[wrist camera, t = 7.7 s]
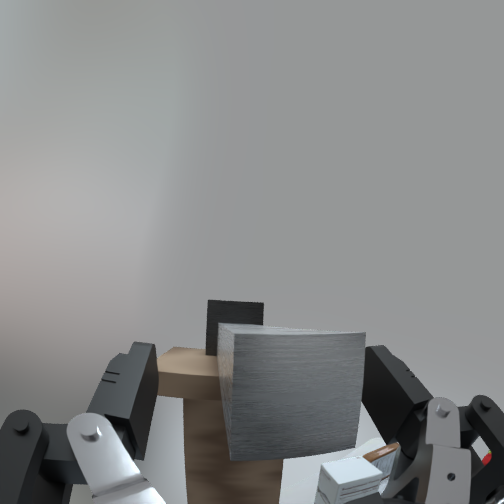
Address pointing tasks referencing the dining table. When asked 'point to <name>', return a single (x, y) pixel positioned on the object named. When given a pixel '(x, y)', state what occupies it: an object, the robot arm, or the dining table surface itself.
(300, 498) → the dining table surface
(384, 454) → the tin
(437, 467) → the robot arm
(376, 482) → the supplement box
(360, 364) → the steel bar
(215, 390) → the walnut shelf stand
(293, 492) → the dining table surface
